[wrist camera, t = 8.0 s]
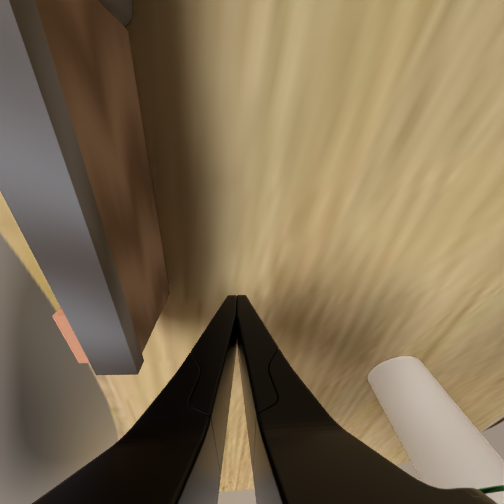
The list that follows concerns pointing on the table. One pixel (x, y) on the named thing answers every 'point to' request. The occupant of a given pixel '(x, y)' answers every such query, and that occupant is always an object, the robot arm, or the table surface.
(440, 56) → the table surface
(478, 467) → the cylindrical container
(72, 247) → the gate
